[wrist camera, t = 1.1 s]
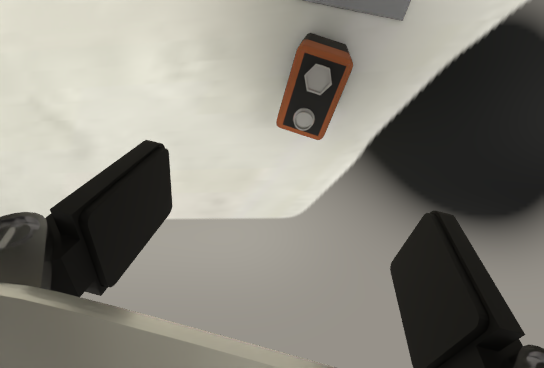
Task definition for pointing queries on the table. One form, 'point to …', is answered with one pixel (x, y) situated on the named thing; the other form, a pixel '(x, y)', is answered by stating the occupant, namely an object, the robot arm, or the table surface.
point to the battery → (314, 86)
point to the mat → (371, 6)
